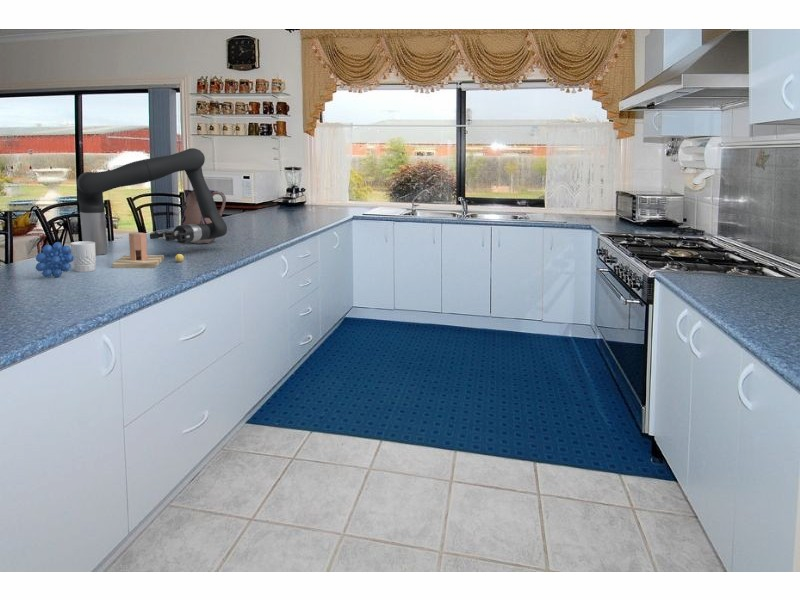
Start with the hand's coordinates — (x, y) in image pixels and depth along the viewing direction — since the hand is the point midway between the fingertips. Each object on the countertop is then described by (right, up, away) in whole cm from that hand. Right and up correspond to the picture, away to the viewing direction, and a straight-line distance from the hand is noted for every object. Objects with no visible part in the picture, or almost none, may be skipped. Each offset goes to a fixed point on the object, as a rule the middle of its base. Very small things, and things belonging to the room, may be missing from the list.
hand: (158, 237), depth 250 cm
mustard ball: (+9, -8, -2) cm, 12 cm away
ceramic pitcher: (+2, +3, +52) cm, 52 cm away
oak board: (-5, -11, -7) cm, 14 cm away
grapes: (-21, -17, -37) cm, 46 cm away
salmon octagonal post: (-5, -9, -7) cm, 13 cm away
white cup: (-17, -15, -24) cm, 33 cm away
